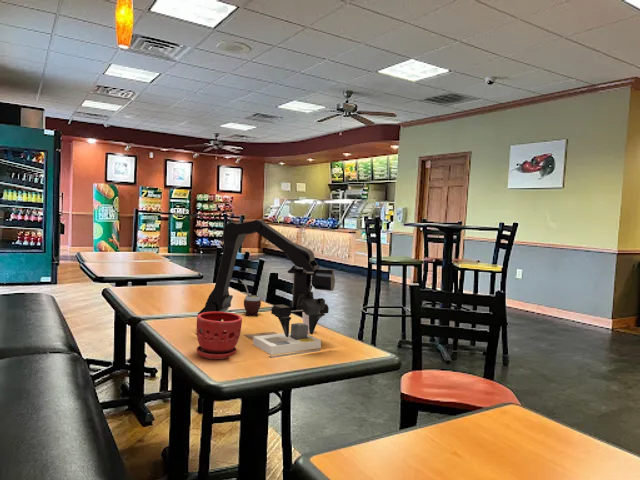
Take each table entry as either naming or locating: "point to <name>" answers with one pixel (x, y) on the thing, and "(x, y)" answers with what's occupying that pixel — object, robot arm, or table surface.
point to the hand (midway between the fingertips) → (299, 335)
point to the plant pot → (218, 334)
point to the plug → (299, 331)
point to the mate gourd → (251, 303)
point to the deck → (259, 334)
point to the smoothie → (306, 320)
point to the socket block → (285, 344)
